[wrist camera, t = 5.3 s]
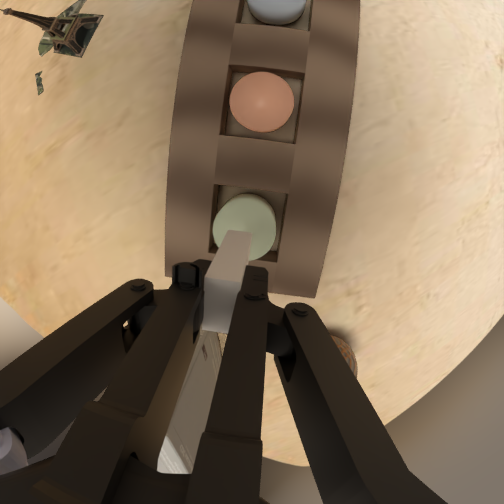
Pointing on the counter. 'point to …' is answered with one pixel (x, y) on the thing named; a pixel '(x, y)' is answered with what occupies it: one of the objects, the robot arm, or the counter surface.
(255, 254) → the button sage
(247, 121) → the button terracotta
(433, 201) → the counter surface
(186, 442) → the skincare box
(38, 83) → the eiffel tower figurine
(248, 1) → the button slate
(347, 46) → the button board
